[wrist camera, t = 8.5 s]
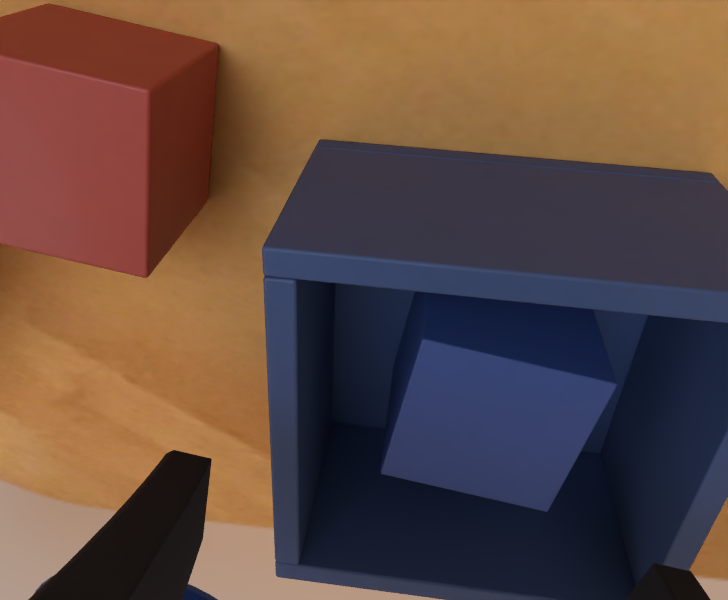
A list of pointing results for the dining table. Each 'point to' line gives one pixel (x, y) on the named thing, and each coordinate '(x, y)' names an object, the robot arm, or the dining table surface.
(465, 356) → the blue block
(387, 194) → the blue bin
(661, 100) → the dining table surface
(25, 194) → the red block
